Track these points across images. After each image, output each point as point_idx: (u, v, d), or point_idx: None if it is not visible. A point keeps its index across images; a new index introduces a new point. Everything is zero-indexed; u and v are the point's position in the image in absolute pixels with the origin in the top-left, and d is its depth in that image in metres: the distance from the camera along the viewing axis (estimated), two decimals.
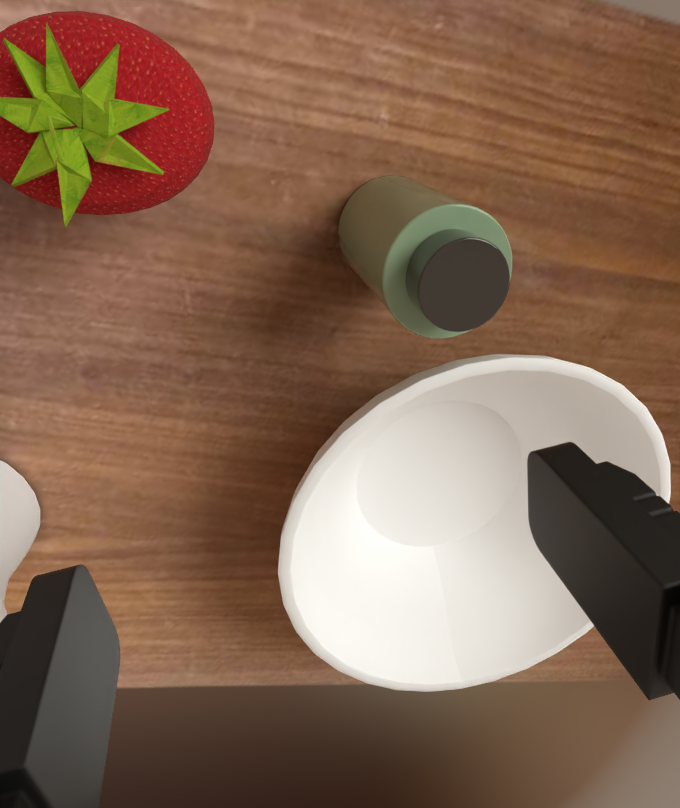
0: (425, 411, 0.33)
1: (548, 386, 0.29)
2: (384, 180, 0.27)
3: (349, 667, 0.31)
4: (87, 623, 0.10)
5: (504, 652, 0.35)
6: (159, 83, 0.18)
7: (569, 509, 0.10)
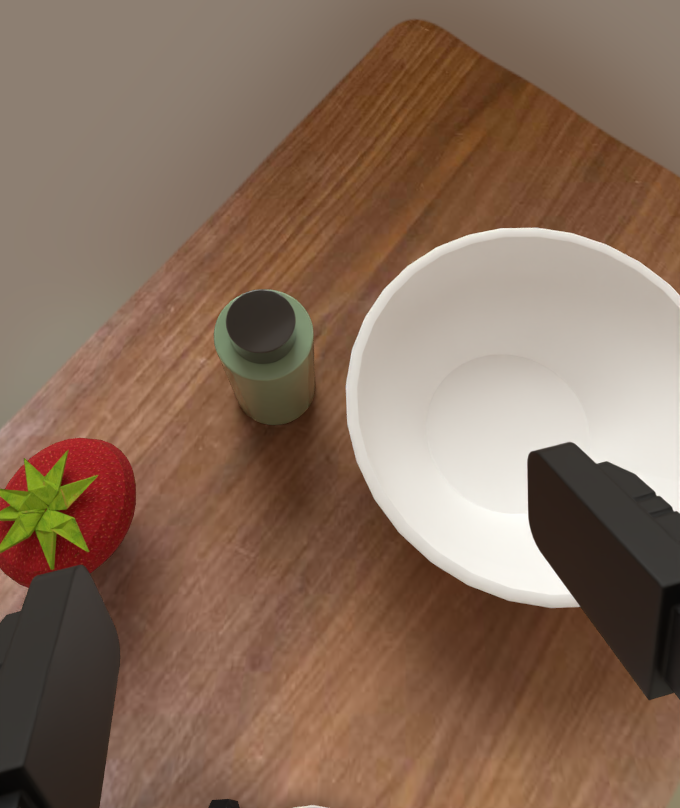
0: (433, 417, 0.36)
1: (432, 306, 0.35)
2: None
3: None
4: (87, 623, 0.10)
5: None
6: (60, 453, 0.29)
7: (569, 509, 0.10)
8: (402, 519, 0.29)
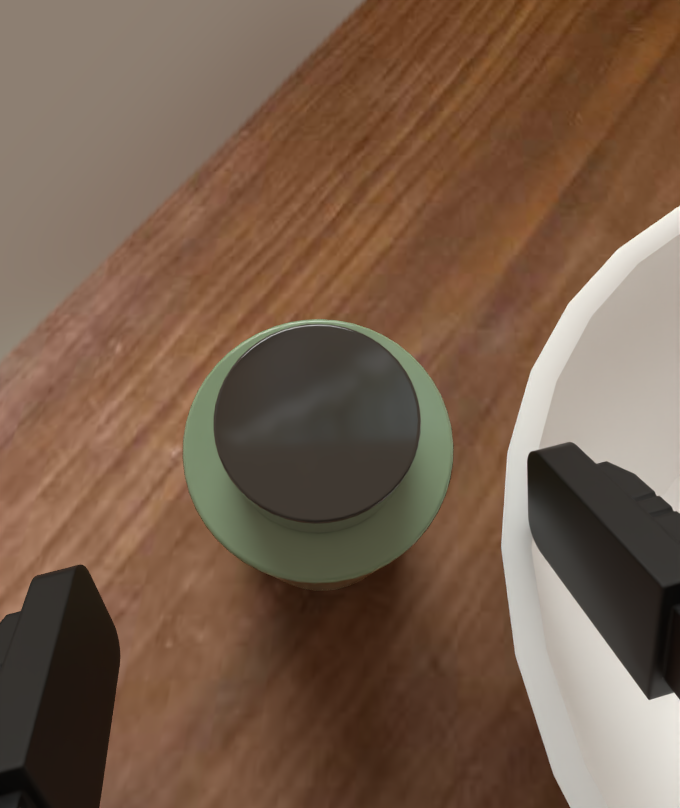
0: None
1: (657, 341, 0.16)
2: None
3: None
4: (87, 623, 0.10)
5: None
6: None
7: (569, 510, 0.10)
8: None
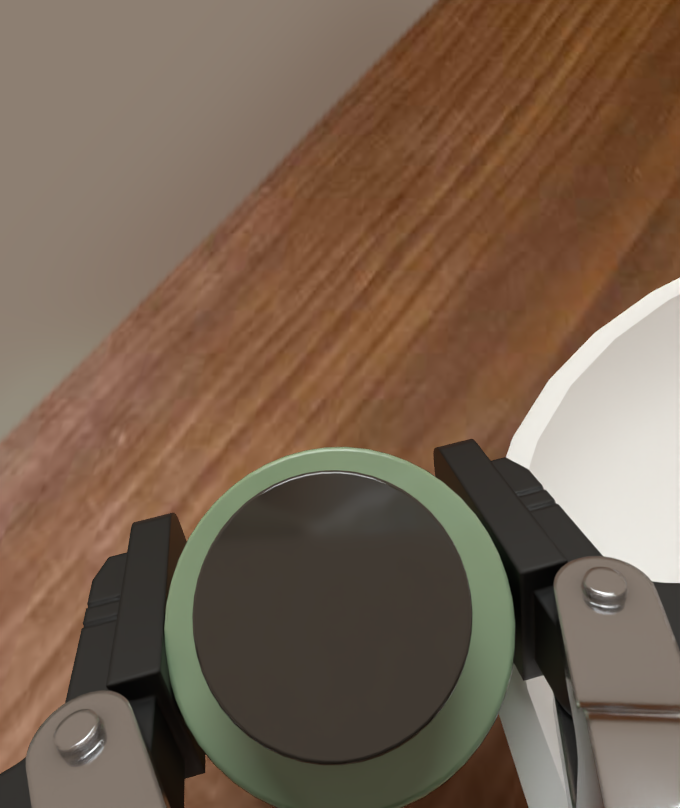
0: None
1: None
2: None
3: None
4: None
5: None
6: None
7: None
8: None
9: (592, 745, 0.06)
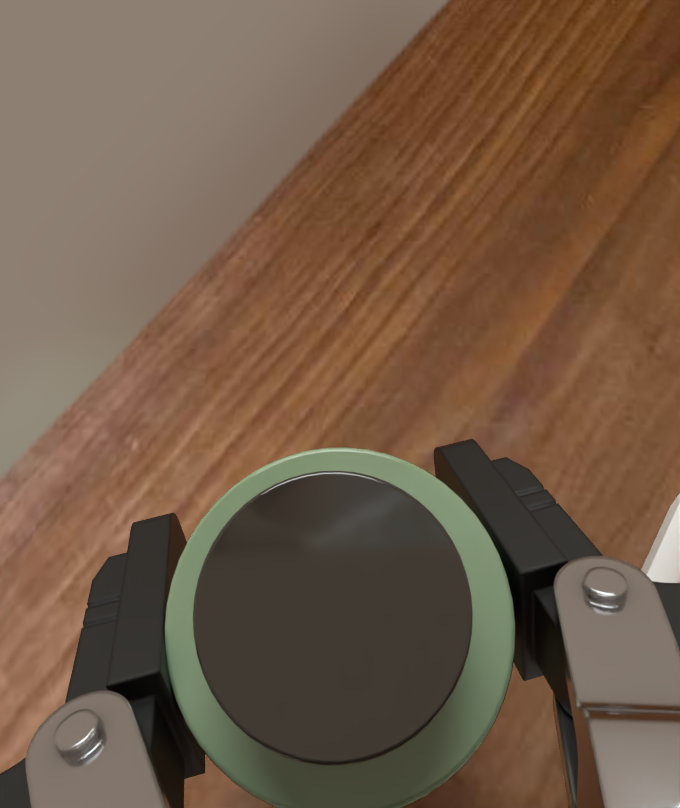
0: None
1: None
2: None
3: None
4: None
5: None
6: None
7: None
8: None
9: (592, 745, 0.06)
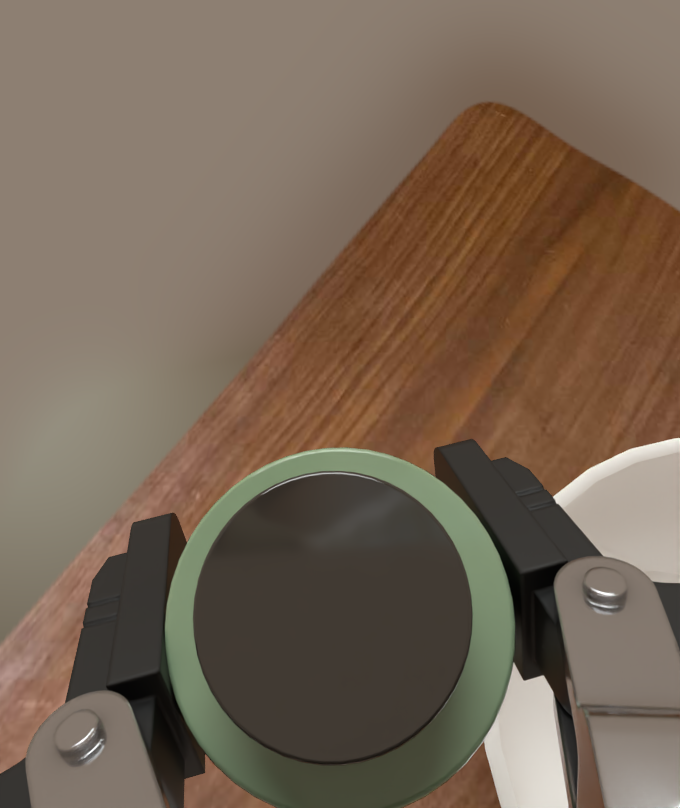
0: None
1: None
2: None
3: None
4: None
5: None
6: None
7: None
8: None
9: (592, 745, 0.06)
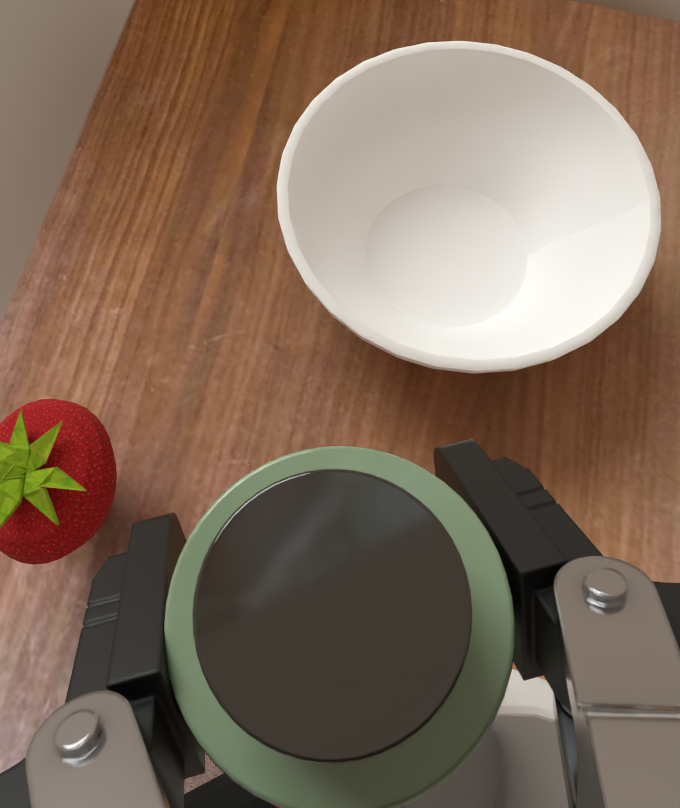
0: (375, 269, 0.37)
1: (331, 162, 0.35)
2: None
3: (615, 307, 0.30)
4: None
5: (621, 161, 0.33)
6: (14, 421, 0.27)
7: None
8: (393, 341, 0.29)
9: (592, 745, 0.06)
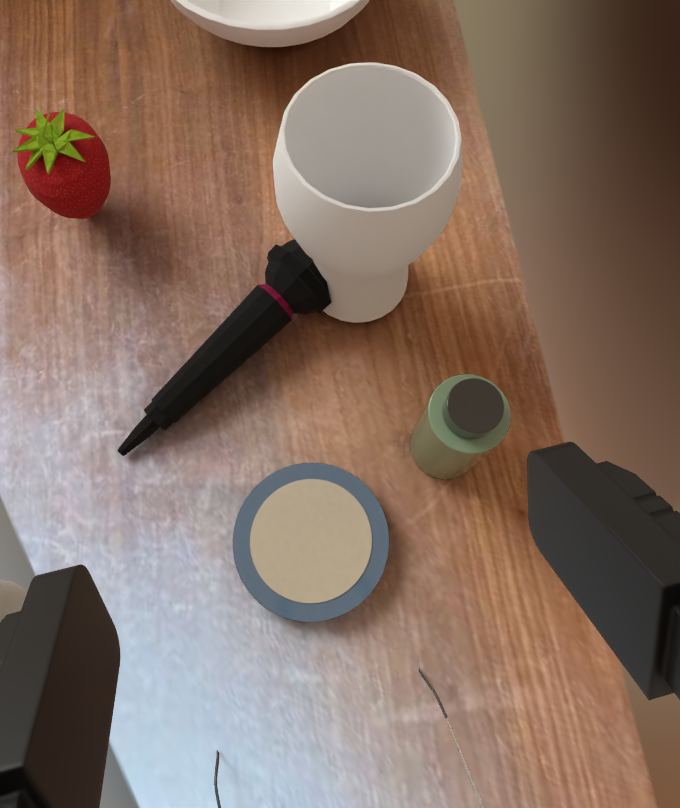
0: None
1: None
2: (412, 433, 0.42)
3: None
4: (87, 623, 0.10)
5: None
6: (32, 124, 0.42)
7: (569, 509, 0.10)
8: (252, 23, 0.45)
9: None
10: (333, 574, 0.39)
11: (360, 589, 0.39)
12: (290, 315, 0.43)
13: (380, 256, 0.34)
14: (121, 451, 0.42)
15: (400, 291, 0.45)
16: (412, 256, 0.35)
